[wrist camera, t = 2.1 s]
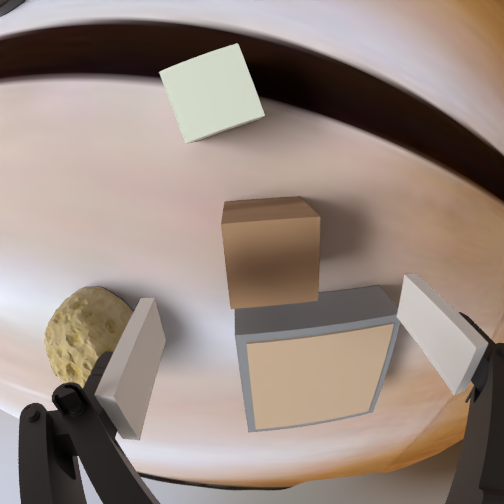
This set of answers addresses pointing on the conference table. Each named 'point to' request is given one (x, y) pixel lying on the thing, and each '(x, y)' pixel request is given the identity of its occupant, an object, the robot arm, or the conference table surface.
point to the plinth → (315, 357)
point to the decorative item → (84, 332)
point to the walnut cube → (271, 251)
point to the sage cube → (212, 93)
